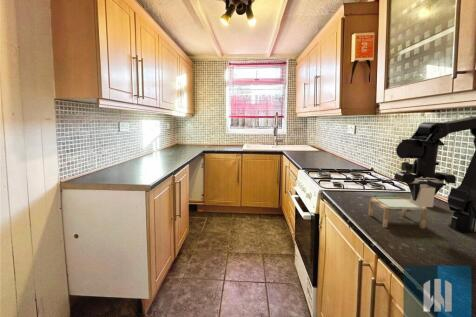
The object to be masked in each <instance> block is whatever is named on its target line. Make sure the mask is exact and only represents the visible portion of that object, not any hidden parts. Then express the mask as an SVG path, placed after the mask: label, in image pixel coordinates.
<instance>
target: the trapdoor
mask: <svg viewBox="0 0 476 317" xmlns="http://www.w3.org/2000/svg"><path fill="white" fill-rule="evenodd" d="M377 200H378V201H380V202H381V203H383V204H384V205H386V206H388V207H389V210H402V209H404V210H408V211H409V210H411V211H414V210H415V211H417V210H418V211H422V210H421V207H418V206H416V205H414V204H412V203H410V201H408V200H406V199H377Z"/></svg>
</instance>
